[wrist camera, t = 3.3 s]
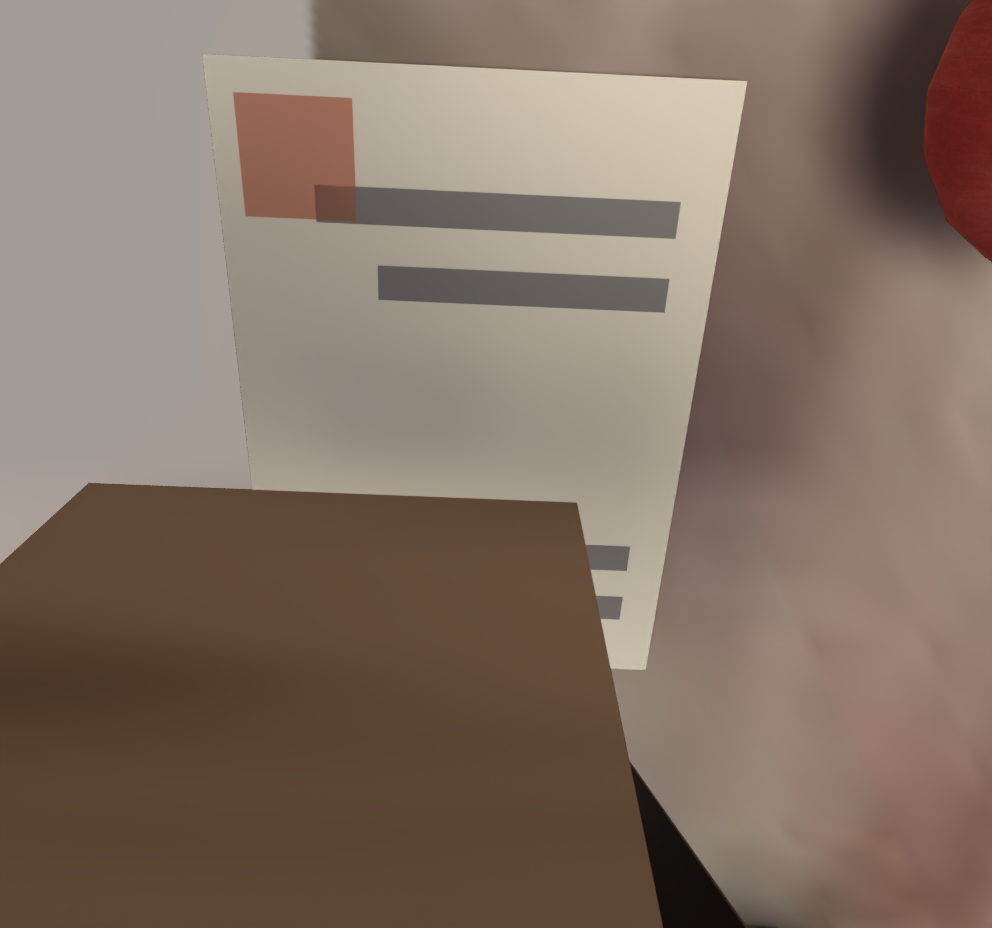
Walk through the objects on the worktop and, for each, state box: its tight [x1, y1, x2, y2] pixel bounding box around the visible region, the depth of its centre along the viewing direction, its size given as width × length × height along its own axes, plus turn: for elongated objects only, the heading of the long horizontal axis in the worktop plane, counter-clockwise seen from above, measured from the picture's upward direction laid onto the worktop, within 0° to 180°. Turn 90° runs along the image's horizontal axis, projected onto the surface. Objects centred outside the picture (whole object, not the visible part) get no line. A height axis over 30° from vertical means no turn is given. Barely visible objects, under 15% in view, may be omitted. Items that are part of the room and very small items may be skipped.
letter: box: [202, 54, 747, 670], centre depth 17 cm, size 14×10×1 cm
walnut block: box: [0, 483, 663, 928], centre depth 6 cm, size 5×5×5 cm
